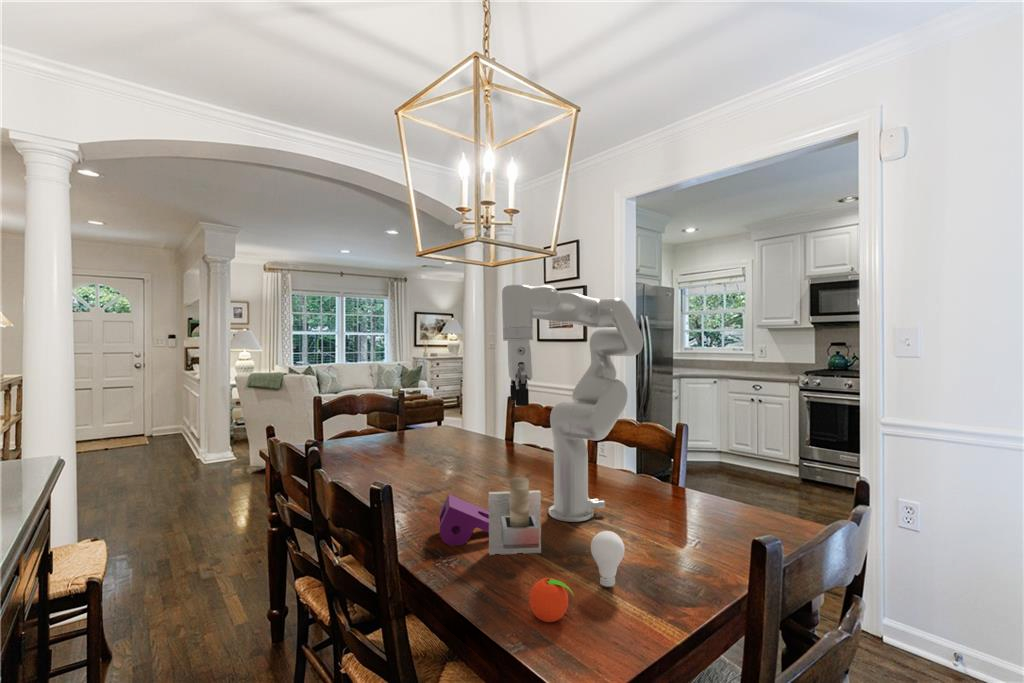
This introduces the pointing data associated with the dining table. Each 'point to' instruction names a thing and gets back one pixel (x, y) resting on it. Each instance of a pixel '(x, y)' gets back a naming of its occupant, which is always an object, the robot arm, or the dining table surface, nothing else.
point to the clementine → (549, 599)
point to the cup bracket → (513, 538)
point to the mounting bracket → (461, 520)
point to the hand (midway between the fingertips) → (519, 402)
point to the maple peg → (519, 502)
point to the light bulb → (607, 555)
